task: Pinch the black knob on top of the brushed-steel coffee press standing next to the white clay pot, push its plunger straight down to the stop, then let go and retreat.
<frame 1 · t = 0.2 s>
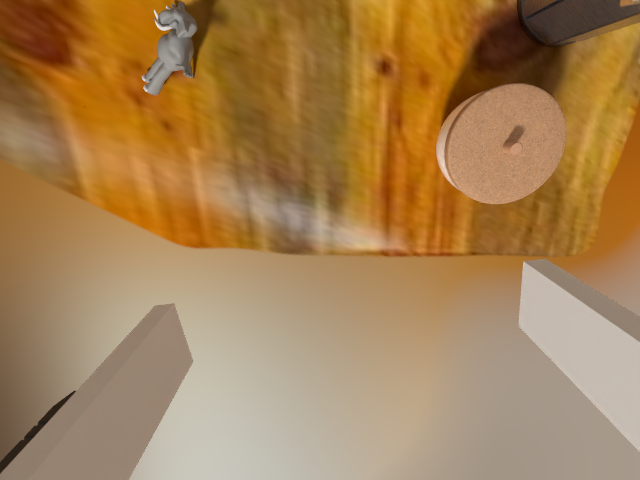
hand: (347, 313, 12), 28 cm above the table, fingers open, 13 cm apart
grey animal figurine: (188, 62, 35), on the table
lidded jar: (470, 142, 37), on the table
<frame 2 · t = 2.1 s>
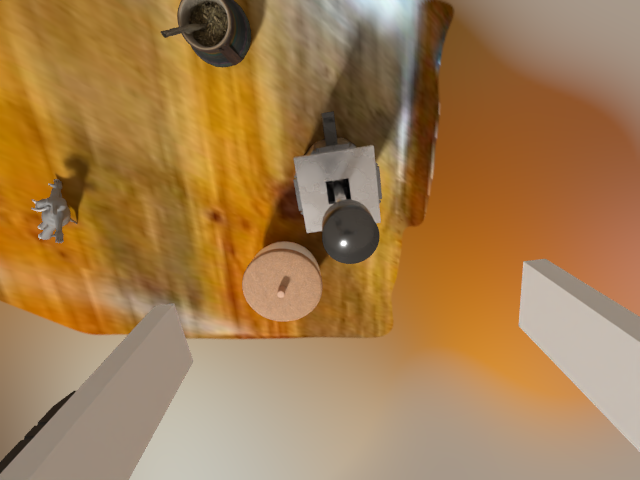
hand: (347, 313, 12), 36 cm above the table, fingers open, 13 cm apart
mate gourd: (225, 39, 40), on the table
grey animal figurine: (72, 213, 48), on the table
lidded jar: (287, 263, 51), on the table
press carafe: (333, 171, 46), on the table
plunger: (341, 202, 29), point 18 cm above the table, slide at 0.0 cm
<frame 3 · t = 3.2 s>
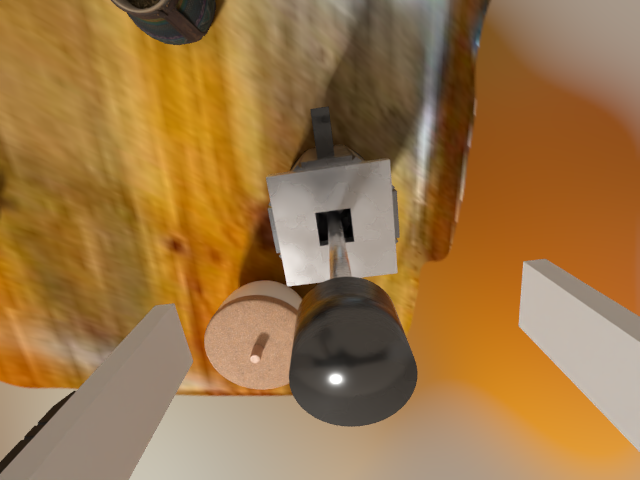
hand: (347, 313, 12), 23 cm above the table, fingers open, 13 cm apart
mate gourd: (182, 8, 29), on the table
lidded jar: (270, 305, 40), on the table
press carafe: (330, 189, 34), on the table
plunger: (338, 254, 18), point 18 cm above the table, slide at 0.0 cm
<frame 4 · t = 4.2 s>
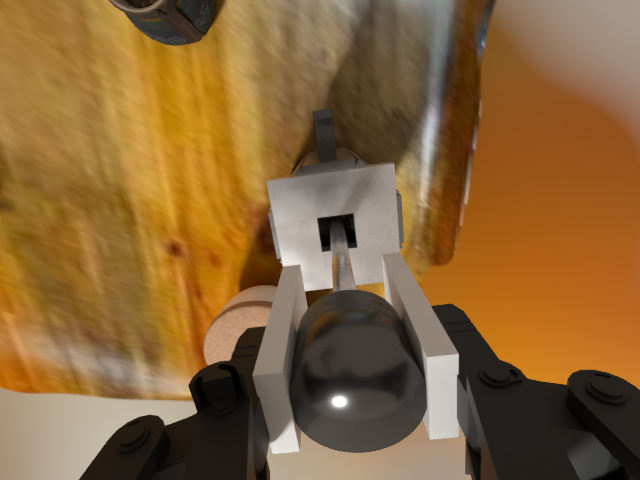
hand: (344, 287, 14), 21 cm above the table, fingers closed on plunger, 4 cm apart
mate gourd: (182, 8, 29), on the table
lidded jar: (271, 309, 39), on the table
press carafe: (332, 193, 34), on the table
plunger: (341, 262, 17), point 18 cm above the table, slide at 0.0 cm, touching gripper
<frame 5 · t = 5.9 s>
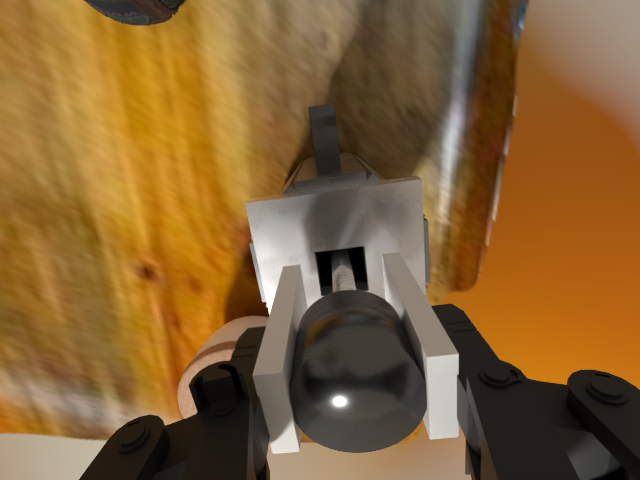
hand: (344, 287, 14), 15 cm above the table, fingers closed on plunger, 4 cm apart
lidded jar: (262, 341, 33), on the table
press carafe: (334, 206, 28), on the table
plunger: (341, 262, 17), point 12 cm above the table, slide at 6.0 cm, touching gripper
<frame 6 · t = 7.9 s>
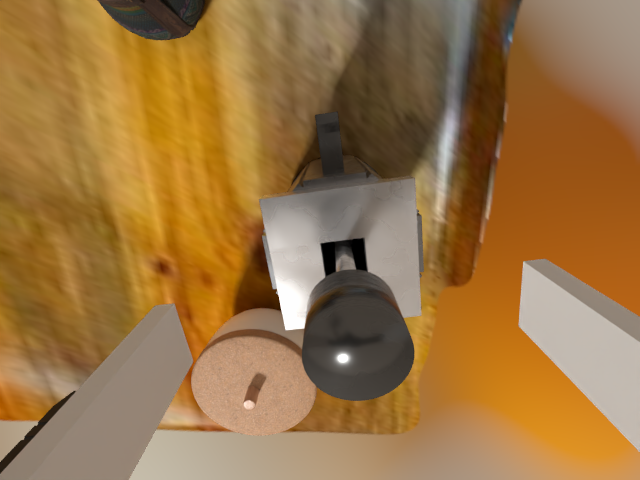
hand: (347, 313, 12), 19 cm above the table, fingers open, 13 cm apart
lidded jar: (269, 333, 35), on the table
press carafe: (337, 206, 30), on the table
plunger: (343, 252, 19), point 12 cm above the table, slide at 6.0 cm
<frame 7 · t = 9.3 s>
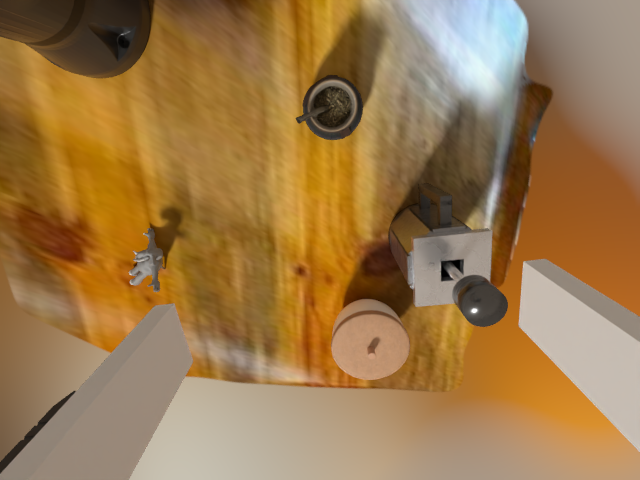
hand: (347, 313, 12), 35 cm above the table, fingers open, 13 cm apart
mate gourd: (331, 111, 43), on the table
grey animal figurine: (160, 259, 50), on the table
lidded jar: (364, 317, 52), on the table
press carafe: (420, 234, 47), on the table
plunger: (448, 266, 36), point 12 cm above the table, slide at 6.0 cm
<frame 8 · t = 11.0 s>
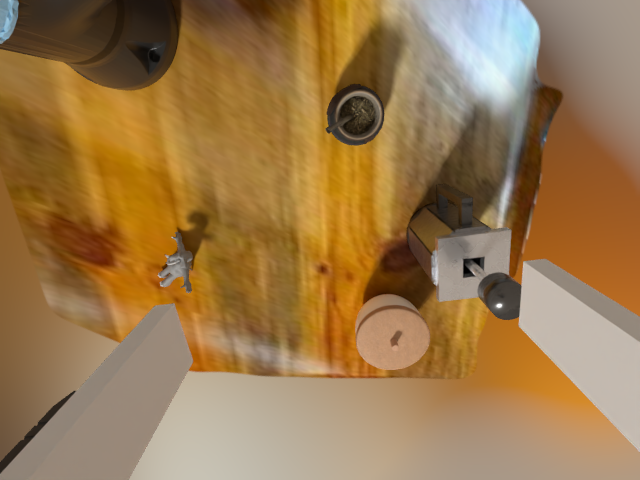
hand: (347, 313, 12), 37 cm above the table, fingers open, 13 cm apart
mate gourd: (352, 117, 45), on the table
grey animal figurine: (187, 261, 52), on the table
lidded jar: (383, 311, 55), on the table
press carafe: (436, 231, 50), on the table
plunger: (469, 263, 39), point 12 cm above the table, slide at 6.0 cm
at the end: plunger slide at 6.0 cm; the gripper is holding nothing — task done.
